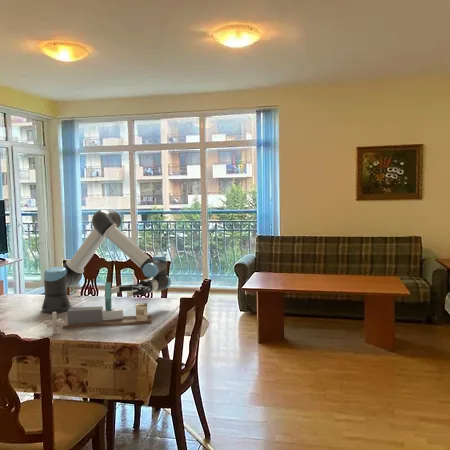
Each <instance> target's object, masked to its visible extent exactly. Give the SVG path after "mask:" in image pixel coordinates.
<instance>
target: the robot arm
mask: <svg viewBox="0 0 450 450" xmlns="http://www.w3.org/2000/svg"><path fill="white" fill-rule="evenodd" d="M91 223H92V230H91V231H90V233H89V235H87V237H86V238H85V240H84V241H83V242H82V244H81V245H80V247H79V248H78V249H77V251H76V252H75V254H74V255H73V256H72V258H71V259H69V260H67V261H66V262H65V263H64V264H63V266H54V267H48V268H47V269H45V270H44V273H43V274H44V275H43V282H44V283H43V284H44V299H43V302H42V306H41V312H42V313H45V314H52V312H57V313H58V314H59V313H64V312H68V310H69V309H70V308H72V307H71V306H72V305H71V302H70V299H69V296H68V288H70V287H73V286H75V285H77V284H78V283H80V281H81V280H82V278H83V274H84V272H85V269H84V268H85V267H86V265H87V264H88V263H89V262H90V261H91V259H92V258H93V256H94V254H95V253H96V252H97V251H98V249H99V248H100V246H101V245H102V244H103V242H104V241H105V240H106V238H107V240H109V242H111V243H112V244H113V245H114V246H116V247H117V248H118V249H119V250H120V251H121V252H122V253H123V254H125V256H126V257H128V258H129V259H130V261H132V262H133V263H134V264H135V265H136V266H137V267H138V268H140V269H141V270H142V273H143V275H144V277H146V278H147V279H142V280H140V281H139V282H138V283H135V284H134V283H131V284H123V285H115V287H111V295H112V294H119V293H120V292H126V297H127V298H131V297H136V296H140V295H141V296H145V295H146V294H147V295H148V294H150V293H151V294H152V293H154V292H159V291H163V290H166V289H169V288H170V286H171V284H172V281H171V278H170V277H169V276H168V275H167V270H168V269H167V256H166V255H162V254H160V255H158V254H157V255H154V256H153V257H152V258H151V257H150V256H149V255H148V254H147V253H145V251H143V250H142V249H141V248H140V247H139V246H138V245H137V243H134V241H133V240H132V239H130V238H129V237H128V236H127V235H126V234H124V233H123V231H122V230H120V229H119V228H120V227H121V226H122V224H123V217H122V214H121V213H120V212H119V211H118V210H116V209H111V208H110V209H101V210H97V211H96V212H94V214H93V216H92V219H91Z"/></svg>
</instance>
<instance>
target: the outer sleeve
mask: <svg viewBox="0 0 450 450" xmlns="http://www.w3.org/2000/svg"><path fill="white" fill-rule="evenodd" d="M102 309H104V306H84V307H83V306H80V307H71V308H70V309H69V310H68V311H67V319H68V324H80V323H99V322H102V321H103V319H102Z"/></svg>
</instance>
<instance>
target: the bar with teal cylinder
mask: <svg viewBox="0 0 450 450" xmlns="http://www.w3.org/2000/svg"><path fill="white" fill-rule="evenodd" d="M111 288H112V282H104V302H105V304H104V305H105V306H104V307H105V308H103V309H102V319H117V318H123V316H124V308H123V307H122V308H121V307H120V308H113V307H112V306H113V305H112V294H111Z"/></svg>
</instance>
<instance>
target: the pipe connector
mask: <svg viewBox="0 0 450 450" xmlns="http://www.w3.org/2000/svg"><path fill="white" fill-rule="evenodd" d="M51 314H52V320H44V321H43V325H46V328H47V329H50V328H52V335H58V326H63V325H65V324H66V320H65V321H64V320H63V318H62V317H61V318H58V319H57V312H52V313H51Z"/></svg>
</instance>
